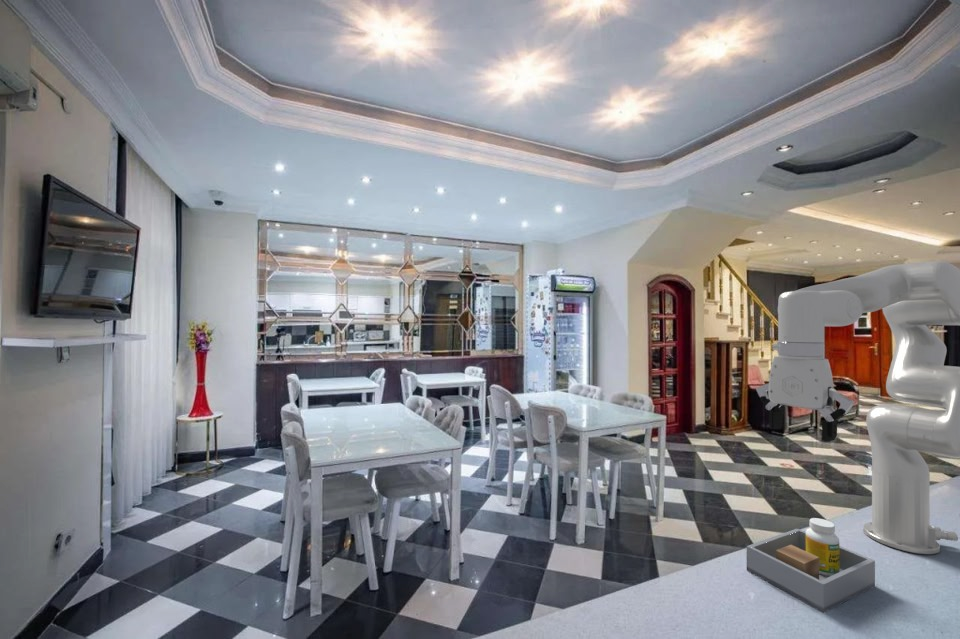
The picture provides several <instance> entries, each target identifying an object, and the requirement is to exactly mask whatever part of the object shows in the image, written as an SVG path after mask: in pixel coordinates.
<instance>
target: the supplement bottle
mask: <svg viewBox="0 0 960 639" xmlns="http://www.w3.org/2000/svg"><path fill="white" fill-rule="evenodd" d="M808 524H809V528H807V529H805V532H806V552H808V553H811V554H813V555H815V556H817V557H819V574H822V575H825V576H832V575H834V574H837V573H839V572H840V562H839V560H840V558H839V546H840V538H839V537H838V535H836V534H835V532H836V526H835V524H834V523H833V522H831V521H830V520H827V519H824V518H818V517H811V518H810V519H809V523H808Z"/></svg>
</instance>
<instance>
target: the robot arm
mask: <svg viewBox="0 0 960 639" xmlns="http://www.w3.org/2000/svg"><path fill="white" fill-rule="evenodd" d="M777 301H778V302H777V303H778V304H777V305H778V306H777V314H778V315H777V317H778V319H777V322H778V324H777V325H778V326H777V327H778V330H777V332H778V333H777V334H778V335H777V338H778V341H777V343H775V344H774V343H773V344H772V345H771V346H772V347H771V348H772V350H773V351H777V354H778V355H776V356H773V358H772V362H771V367H770V370H769V379H768V383H766V384H762V385H760V386H758V387H756V388H755V389H756V392H757V395H758V397H759V399H760V402H761V403H762V404H763V405H764V406H765V409H766V410H768V424H769V429H770V430H778V429H781V428H783V427H782V426H783V411H782V409H780V408H781V406H788V407H793V408H799V409H805V410H811V411H812V410H813V411H817V410H818V412H819V413H820V414H821V415H822V417H823V418H824V420H821V440H822V441H823V442H826V443H827V442H831V441H832V442H833V441H835V440H836V438H838V437H837V436H838V421H840V420H841V419H842V418H844V417H845V416H847V415H849V411H851V409H852V407H853V406H854V405H855V400H853V399H852V398H849V397H848V396H846V395H844V394H843V393H841V392H839V391H837V390H836V389H834V380H833V373H832V369H831V365H830V361H829V358H825V356H826V355H825V354H826V353H825V349H826V348H825V347H826V346H825V327H846V326H850V325H852V324H855V323H856V322H858V321H859V319H860V318H861V317H862V315H863V314H866V313H872V312H877V311H879V310H882V314H883V316H884V318H885V320H886V322H887V325H889V328H890V331H891V332H892V335H893V337H894V340H895V348H894V353H893V355H892V356H893V357H892V360H891V363H890V366H889V369H888V370H889V371H888V374H887V377H886V383H885V389H886V393H887V394H888V396H889V397H891V398H893V399H894V400H896V401H901V402H905V403H910V404H917V405H923V406H930V407H936V408H945V411H941V410H935V409H933V410H932V409H926V408H922V407H916V406H915V407H914V406H909V405H903V404H902V405H901V404H894V403H892V404H891V403H885V404H883V403H882V404H878V405H874V406H873V407H871V408H870V409H869V410H868V412H867V414H866V418H865V421H866V427H867V432H868V436H869V441H870V447H871V464H872V465H871V522H867V523H865V524H863V533H864V534H865V535H866V536H868V537H869V538H871V539H872V540H874V541H876V542H878V543H880V544H882V545H885V546H888V547H890V548H894V549H896V550H900V551H904V552H908V553H914V554H918V555H936V554H938V553H940V551H941V546H940V543H939V542H938V541H941V540H945V541H953V542H957V541H959V536H958V534H957V532H955V531H951V530H950V531H949V530H942V529H941V527H939V526H934V525H933V526H932V525H931V524H930V523H931V522H930V521H931V518H930V516H931V515H930V513H931V512H930V505H931V504H930V503H931V502H930V501H931V499H930V493H931V492H930V490H931V489H930V488H931V487H930V484H931V483H930V481H931V478H930V476H931V472H930V468H929V466H928V464H927V462H926V461H925V458H923V456H922V455H921V454H920V452H923V453H927V454H932V455H937V456H942V457H946V458H952V459H959V460H960V366H955V365H954V366H953V365H944V364H945V361H946V356H947V351H948V350H947V346H946V344H945V343H944V341H943V340H942V338H940V337H939V336H938V335H937V334H936V333H935V332H933V330H931V329H930V328H929V327H928V326H960V268H959V267H957V266H955V265H954V264H952V263H950V262H947V261H943V260H935V261H933V260H932V261H923V262H911V263H910V262H909V263H901V264H892V265H887V266H883V267H881V268H877V269H874V270H872V271H869V272H868V271H867V272H866V273H865V272H864V273H862V274H860V275H856V276H852V277H851V276H850V277H848V278H847V277H846V278H842V279H838V280H833V281H828V282H825V283H821V284H814V285H810V286H807V287H803V288H800V289H796V290H790V291H784V292H782V293H781V294H779V296H778V300H777ZM835 401H837V402H838V403H839V404H840V405H839V407H838V408H837V409H834V404H835Z"/></svg>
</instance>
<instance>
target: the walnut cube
mask: <svg viewBox="0 0 960 639" xmlns="http://www.w3.org/2000/svg"><path fill="white" fill-rule="evenodd" d="M776 559H778V560H780V561H782V562H784V563H786V564H788V565H790V566H792V567H794V568H796V569H798V570H800V571H802V572H804V573H806V574H808V575H810V576H812V577H814V578H816V579H818V580H819V557H817V556H815V555H813V554H811V553H808V552H806V551H804V550H802V549H800V548H797V547H795V546H793V545H789V546H786V547H783V548H781V549H778V550H776Z"/></svg>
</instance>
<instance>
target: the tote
mask: <svg viewBox="0 0 960 639" xmlns="http://www.w3.org/2000/svg"><path fill="white" fill-rule="evenodd" d="M795 532H796V533H795ZM792 533H793V534H792ZM790 534H791V535H790ZM766 542H767V543H766ZM789 545H793V546H795V547H797V548H800V549H802V550H804V551H806V530H802V529H799V528H795V529H791V530H789V531H786V532H783V533H781V534H780V533H779V534H777V535H774V536H772V537H771V536H770V537H769V538H765V539H763V540H760V541H757V542H755V543H751V544H749V545H746V571H747V572H749V573H751V574H753V575H754V576H755V577H758V578H760V579H761V580H763V581H766V582H767V583H769V584H771V585H772V586H774V587H776V588H778V589H780V590H781V591H783V592H785V593H787V594H788V595H790V596H793V597H794V598H796V599H798V600H799V601H801V602H803V603H805V604H806V605H809V606H810V607H812V608H814V609H815V610H818V611H819V612H821V613H823V614H824V613H826V612H827V611H829V610H832V609H834V608H836V607H837V606H839V605H841V604H843V603H845V602H847V601H849V600H851V599H853V598H855V597H857V596H859V595H861V594H862V593H864V592H867V591H868V590H871V589H872V588H874V587H876V561H875V560H874V559H872V558H869V557H867V556H864V555H862V554H860V553H858V552H855V551H853V550H851V549H848V548H846V547H844V546H841V545H839V558H840V560H839V562H840V572H839V573H837V574H834V575H832V576H825V575H822V574H819V580H818V579H816V578H814V577H812V576H810V575H808V574H806V573H804V572H802V571H800V570H798V569H796V568H794V567H792V566H790V565H788V564H786V563H784V562H782V561H780V560H778V559H776V550H778V549H781V548H783V547H786V546H789ZM751 547H752V548H751Z"/></svg>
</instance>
